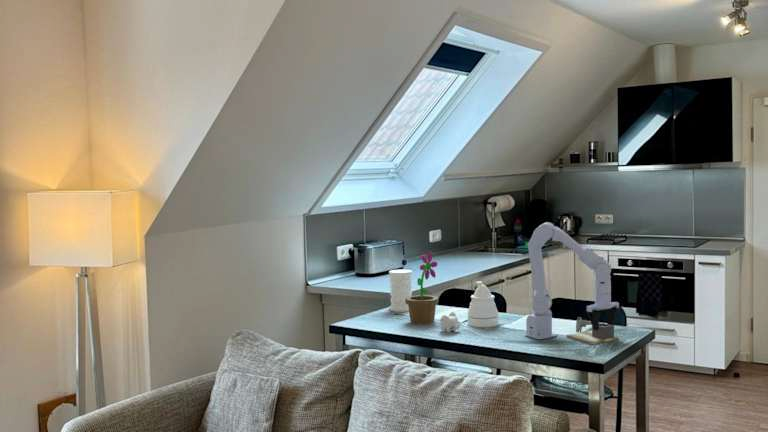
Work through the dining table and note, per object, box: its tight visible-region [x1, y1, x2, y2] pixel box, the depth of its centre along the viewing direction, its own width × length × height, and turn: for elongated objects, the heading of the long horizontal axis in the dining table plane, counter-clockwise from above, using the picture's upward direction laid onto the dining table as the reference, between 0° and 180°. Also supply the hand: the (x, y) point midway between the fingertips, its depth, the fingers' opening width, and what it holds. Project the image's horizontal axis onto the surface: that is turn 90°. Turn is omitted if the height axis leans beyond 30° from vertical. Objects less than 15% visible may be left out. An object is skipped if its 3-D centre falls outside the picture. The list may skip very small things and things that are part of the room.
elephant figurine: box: [439, 311, 463, 333], centre depth 299 cm, size 8×10×7 cm
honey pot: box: [467, 281, 499, 328], centre depth 311 cm, size 13×13×18 cm
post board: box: [566, 326, 620, 345], centre depth 281 cm, size 14×13×5 cm
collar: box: [591, 322, 615, 339], centre depth 279 cm, size 6×6×4 cm
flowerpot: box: [405, 251, 440, 325], centre depth 318 cm, size 14×14×30 cm
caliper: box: [575, 316, 601, 333], centre depth 298 cm, size 21×1×6 cm, turn 140°
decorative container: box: [388, 269, 413, 313], centre depth 346 cm, size 12×12×18 cm
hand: (602, 328), depth 279 cm, fingers open, 7 cm apart
